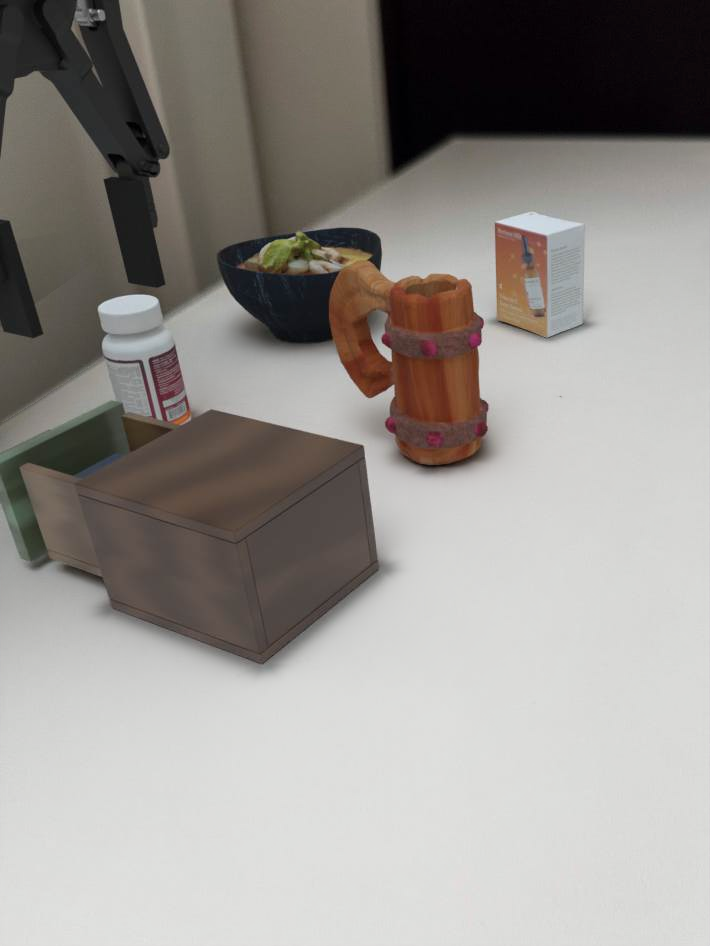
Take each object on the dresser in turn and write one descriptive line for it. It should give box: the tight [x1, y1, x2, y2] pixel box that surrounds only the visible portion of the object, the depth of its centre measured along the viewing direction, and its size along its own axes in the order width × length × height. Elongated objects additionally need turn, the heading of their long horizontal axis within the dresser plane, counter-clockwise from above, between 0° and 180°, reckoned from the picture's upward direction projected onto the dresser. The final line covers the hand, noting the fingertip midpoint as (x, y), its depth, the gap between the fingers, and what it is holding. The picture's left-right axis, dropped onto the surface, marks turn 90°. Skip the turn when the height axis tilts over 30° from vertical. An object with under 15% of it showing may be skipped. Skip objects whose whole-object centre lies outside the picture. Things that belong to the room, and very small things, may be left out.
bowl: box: [216, 226, 383, 344], centre depth 112 cm, size 17×17×10 cm
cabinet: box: [74, 408, 380, 664], centre depth 71 cm, size 14×13×10 cm
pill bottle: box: [97, 294, 192, 425], centre depth 93 cm, size 6×6×11 cm
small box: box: [494, 211, 586, 339], centre depth 111 cm, size 8×6×10 cm
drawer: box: [0, 399, 181, 578], centre depth 76 cm, size 18×11×8 cm, turn 59°
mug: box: [329, 260, 490, 466], centre depth 86 cm, size 15×8×15 cm, turn 56°
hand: (88, 307), depth 67 cm, fingers open, 9 cm apart
